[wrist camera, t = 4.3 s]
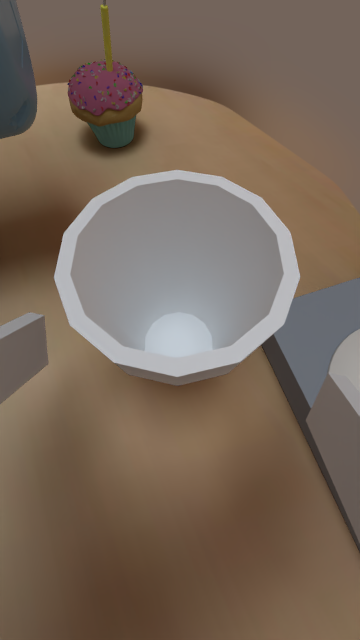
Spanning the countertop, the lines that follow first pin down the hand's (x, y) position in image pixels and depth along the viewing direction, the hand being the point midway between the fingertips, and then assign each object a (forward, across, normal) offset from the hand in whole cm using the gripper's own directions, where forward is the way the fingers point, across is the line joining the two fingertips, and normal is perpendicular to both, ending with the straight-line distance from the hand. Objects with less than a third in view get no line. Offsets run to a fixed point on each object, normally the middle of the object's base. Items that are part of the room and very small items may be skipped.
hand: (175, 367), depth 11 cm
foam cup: (+10, -1, -4) cm, 10 cm away
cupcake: (+28, -15, +14) cm, 35 cm away
